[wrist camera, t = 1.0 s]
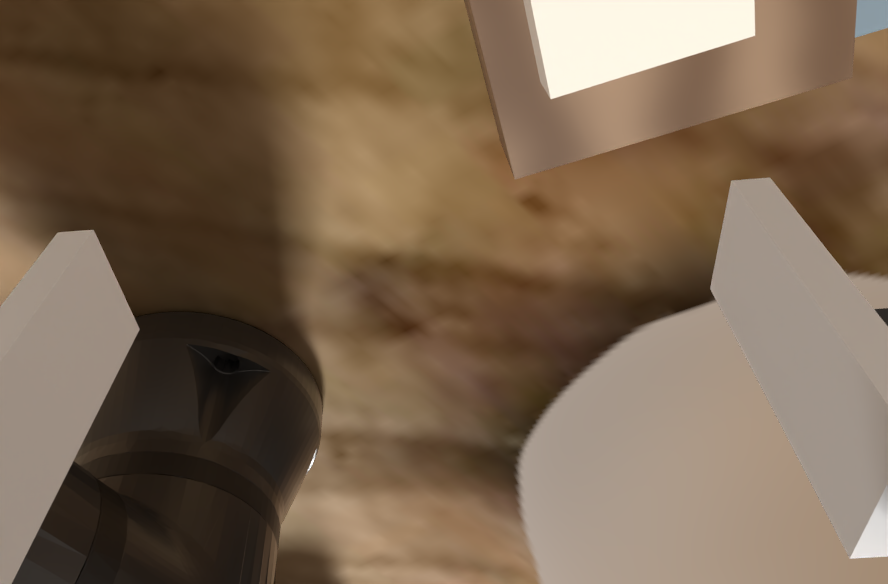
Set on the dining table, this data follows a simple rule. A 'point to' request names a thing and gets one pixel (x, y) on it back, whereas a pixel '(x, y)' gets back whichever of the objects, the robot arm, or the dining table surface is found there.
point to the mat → (871, 16)
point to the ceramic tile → (626, 36)
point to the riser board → (654, 81)
